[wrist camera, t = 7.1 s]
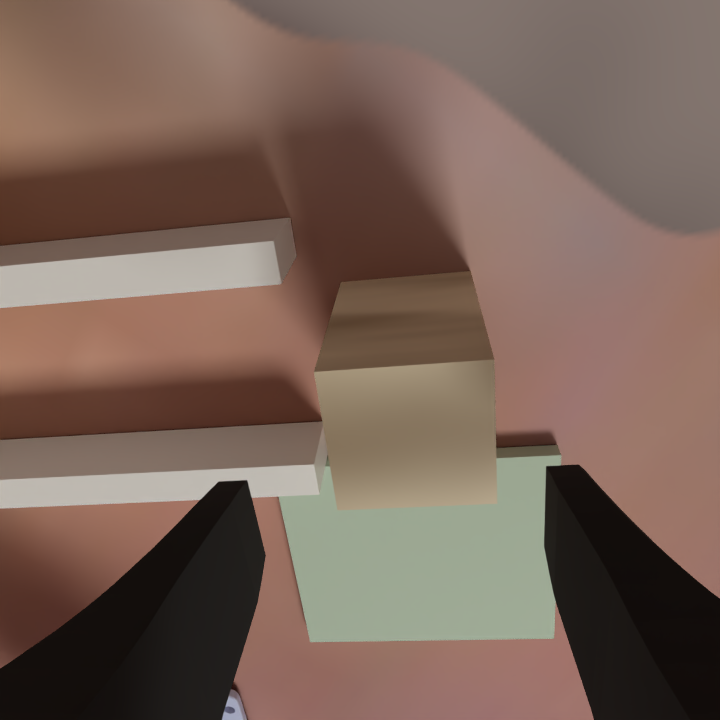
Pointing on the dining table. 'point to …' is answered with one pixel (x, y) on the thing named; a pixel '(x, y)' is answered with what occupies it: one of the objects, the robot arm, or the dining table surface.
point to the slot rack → (170, 447)
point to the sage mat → (428, 562)
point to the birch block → (408, 394)
